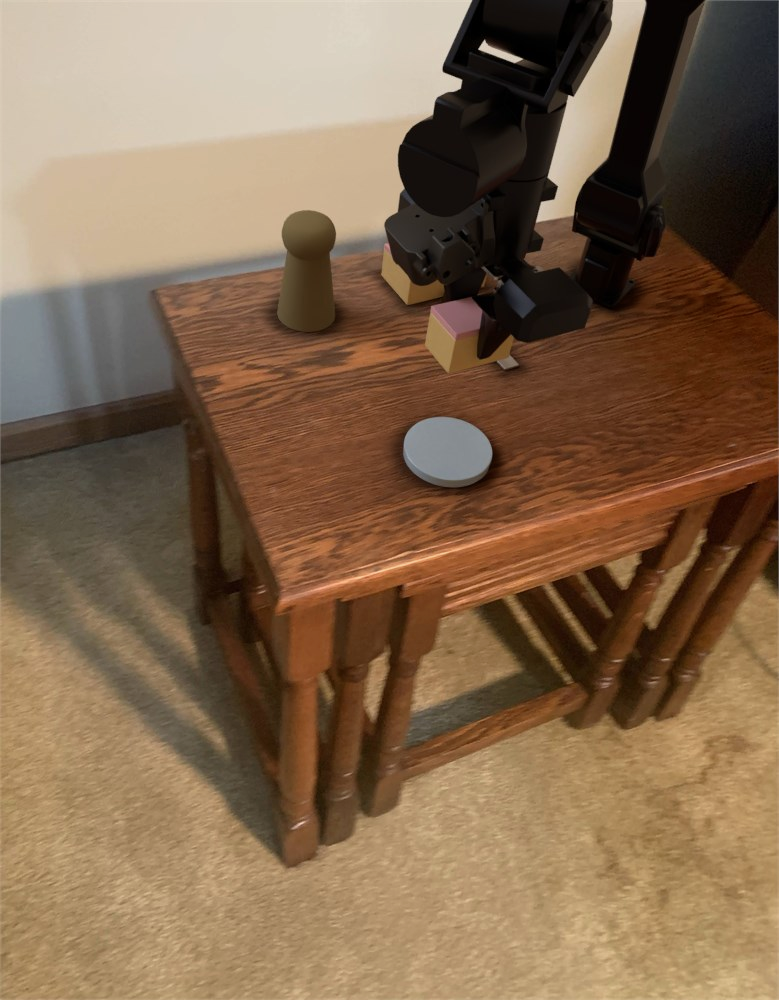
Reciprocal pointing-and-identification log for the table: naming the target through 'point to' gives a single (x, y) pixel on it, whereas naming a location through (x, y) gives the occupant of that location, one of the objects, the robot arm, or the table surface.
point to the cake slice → (459, 336)
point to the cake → (409, 282)
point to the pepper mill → (307, 272)
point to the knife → (504, 363)
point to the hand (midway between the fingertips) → (469, 342)
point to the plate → (447, 452)
